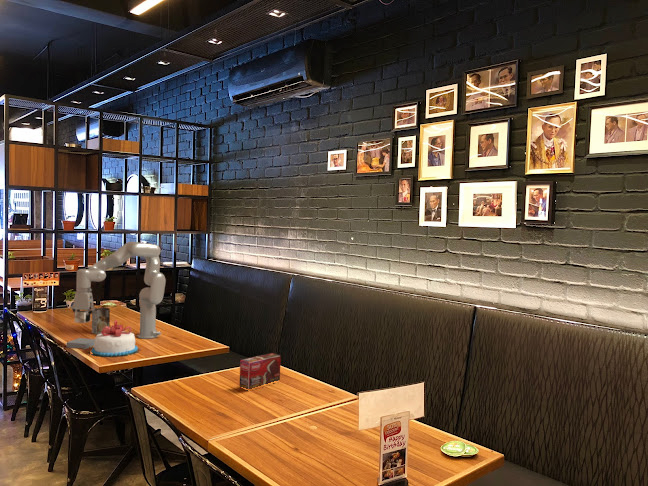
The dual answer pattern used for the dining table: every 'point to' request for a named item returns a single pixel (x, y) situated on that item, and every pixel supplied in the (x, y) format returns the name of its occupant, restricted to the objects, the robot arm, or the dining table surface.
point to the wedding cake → (114, 342)
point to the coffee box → (100, 319)
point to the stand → (81, 343)
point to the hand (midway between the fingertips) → (82, 320)
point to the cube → (80, 317)
